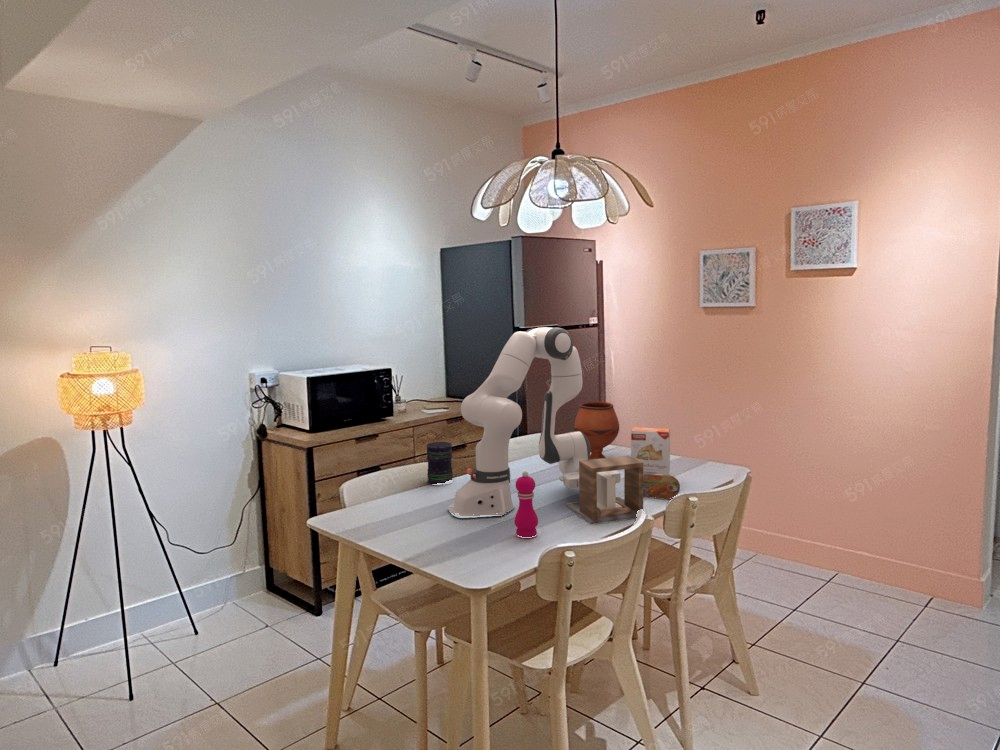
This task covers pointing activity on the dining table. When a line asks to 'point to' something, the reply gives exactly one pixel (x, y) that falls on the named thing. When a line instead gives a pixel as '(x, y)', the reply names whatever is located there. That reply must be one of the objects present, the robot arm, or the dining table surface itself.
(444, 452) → the storage jar
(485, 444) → the robot arm
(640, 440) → the cracker box
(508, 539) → the dining table surface
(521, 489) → the pepper mill
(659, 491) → the tin
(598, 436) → the goblet
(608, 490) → the tall narrow cream block
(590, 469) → the frame
